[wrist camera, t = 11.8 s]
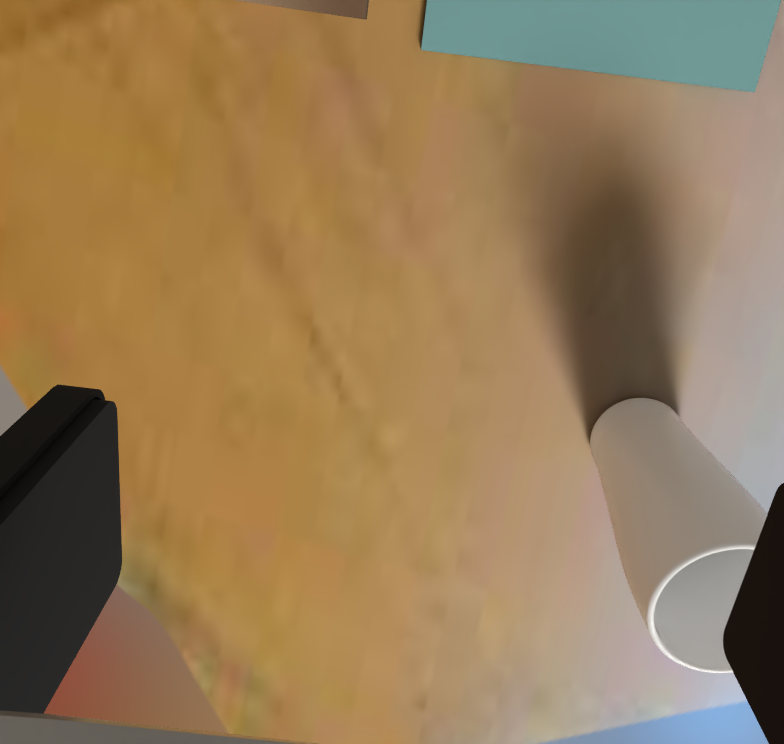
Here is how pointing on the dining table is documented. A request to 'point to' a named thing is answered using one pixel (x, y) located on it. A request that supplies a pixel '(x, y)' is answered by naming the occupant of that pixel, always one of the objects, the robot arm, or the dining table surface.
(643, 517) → the drinking glass
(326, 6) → the walnut cover
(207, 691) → the dining table surface
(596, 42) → the teal mat
